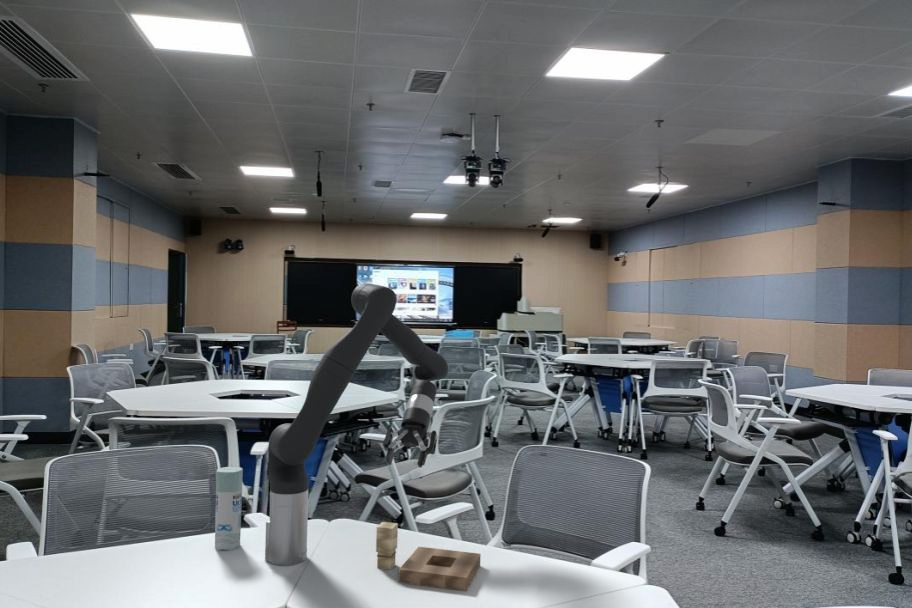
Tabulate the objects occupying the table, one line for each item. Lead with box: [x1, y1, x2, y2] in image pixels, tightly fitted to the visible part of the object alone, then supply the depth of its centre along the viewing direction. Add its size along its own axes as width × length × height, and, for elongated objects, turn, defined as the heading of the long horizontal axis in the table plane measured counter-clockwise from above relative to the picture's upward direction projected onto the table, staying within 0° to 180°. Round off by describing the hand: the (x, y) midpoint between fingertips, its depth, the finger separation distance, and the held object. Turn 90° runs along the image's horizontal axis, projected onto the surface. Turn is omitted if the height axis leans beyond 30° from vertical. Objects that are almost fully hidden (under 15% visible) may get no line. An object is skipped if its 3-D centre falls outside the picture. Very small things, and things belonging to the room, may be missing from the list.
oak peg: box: [375, 521, 399, 571], centre depth 157 cm, size 4×4×10 cm
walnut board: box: [398, 546, 482, 592], centre depth 153 cm, size 16×15×3 cm
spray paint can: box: [214, 466, 244, 551], centre depth 168 cm, size 6×6×20 cm
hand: (404, 464), depth 169 cm, fingers open, 8 cm apart
